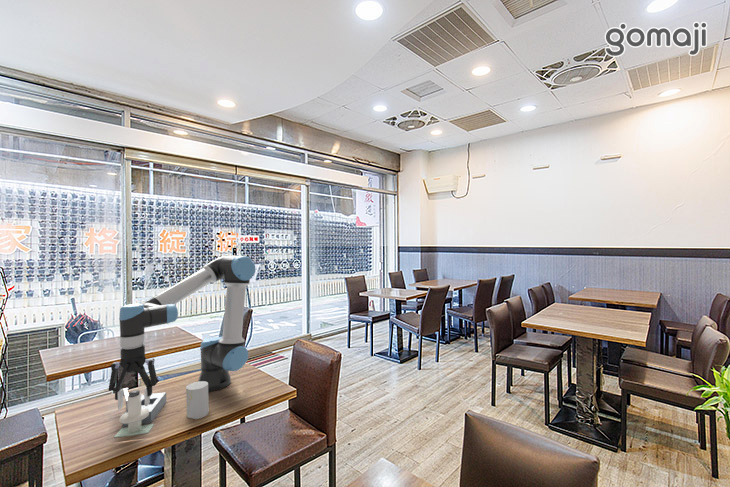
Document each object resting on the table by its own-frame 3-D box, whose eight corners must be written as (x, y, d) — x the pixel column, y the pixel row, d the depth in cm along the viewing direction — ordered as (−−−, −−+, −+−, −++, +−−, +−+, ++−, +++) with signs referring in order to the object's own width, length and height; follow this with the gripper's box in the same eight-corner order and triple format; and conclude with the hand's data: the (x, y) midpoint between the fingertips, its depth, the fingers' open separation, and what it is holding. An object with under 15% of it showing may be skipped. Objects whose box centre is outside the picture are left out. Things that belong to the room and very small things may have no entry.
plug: (143, 434, 123) (143, 395, 123) (115, 438, 121) (114, 399, 121) (153, 421, 132) (152, 385, 132) (126, 425, 130) (125, 388, 130)
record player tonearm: (128, 396, 144) (127, 387, 144) (132, 411, 132) (132, 400, 132) (122, 398, 143) (122, 388, 143) (126, 412, 130) (126, 402, 130)
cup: (187, 411, 141) (187, 383, 141) (209, 407, 144) (208, 379, 144) (185, 421, 133) (185, 391, 133) (208, 416, 136) (207, 387, 136)
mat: (154, 425, 130) (154, 423, 130) (148, 434, 124) (148, 432, 124) (121, 429, 128) (121, 427, 128) (114, 439, 122) (114, 436, 122)
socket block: (166, 403, 148) (166, 392, 148) (151, 424, 131) (151, 411, 131) (140, 406, 146) (140, 394, 146) (122, 428, 129) (121, 415, 129)
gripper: (167, 340, 132) (168, 398, 132) (105, 345, 127) (107, 405, 127) (160, 346, 125) (161, 407, 125) (94, 351, 120) (96, 415, 120)
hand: (134, 406), depth 126 cm, fingers open, 8 cm apart
